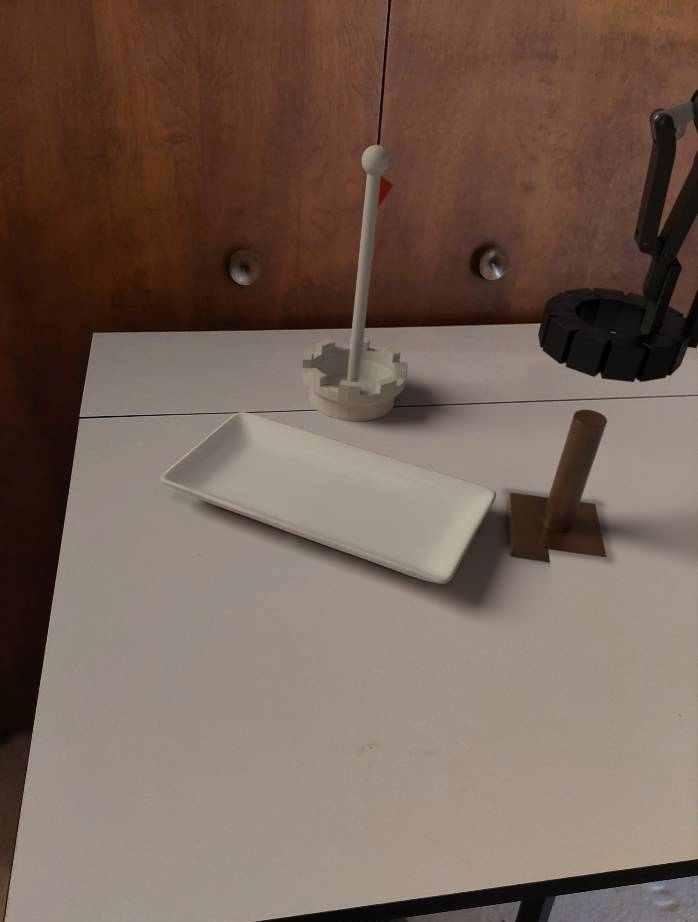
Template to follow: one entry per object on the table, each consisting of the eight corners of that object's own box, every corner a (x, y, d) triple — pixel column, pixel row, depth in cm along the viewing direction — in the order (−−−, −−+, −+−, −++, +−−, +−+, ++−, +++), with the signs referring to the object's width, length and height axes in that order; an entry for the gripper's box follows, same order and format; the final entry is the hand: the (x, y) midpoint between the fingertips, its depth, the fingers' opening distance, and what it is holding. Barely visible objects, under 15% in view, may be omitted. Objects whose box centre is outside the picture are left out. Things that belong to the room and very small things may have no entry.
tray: (238, 431, 95) (238, 406, 93) (494, 514, 85) (501, 487, 83) (156, 505, 84) (154, 478, 81) (441, 611, 73) (448, 584, 71)
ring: (664, 327, 73) (676, 295, 72) (692, 389, 64) (706, 355, 63) (534, 313, 75) (541, 282, 73) (544, 372, 66) (553, 338, 64)
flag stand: (373, 436, 96) (406, 170, 77) (281, 404, 101) (291, 146, 82) (418, 393, 105) (459, 144, 85) (332, 365, 110) (352, 123, 90)
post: (591, 514, 86) (632, 399, 77) (602, 569, 79) (649, 450, 70) (506, 503, 87) (537, 388, 78) (510, 556, 80) (544, 437, 71)
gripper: (892, 11, 55) (752, 330, 70) (657, -6, 57) (569, 310, 72) (941, 26, 49) (777, 369, 64) (678, 7, 51) (578, 347, 66)
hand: (668, 337), depth 68 cm, fingers closed on ring, 3 cm apart
